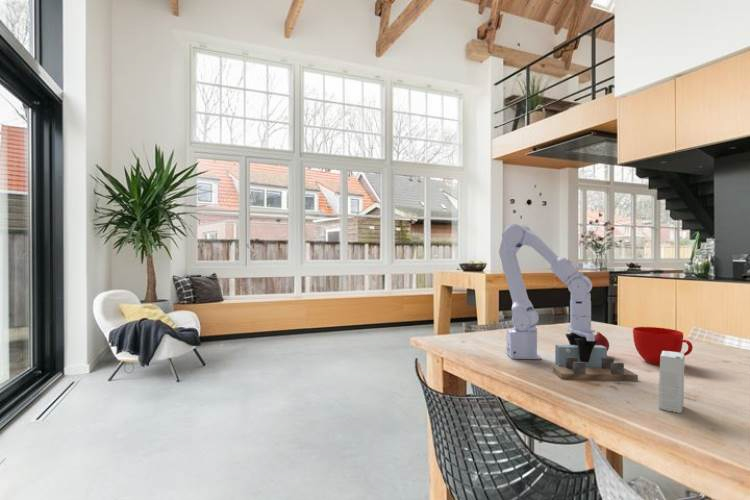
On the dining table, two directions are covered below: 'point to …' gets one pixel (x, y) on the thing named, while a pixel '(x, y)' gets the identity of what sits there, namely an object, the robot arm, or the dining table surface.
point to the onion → (601, 340)
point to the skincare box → (671, 381)
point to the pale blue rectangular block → (573, 351)
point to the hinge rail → (594, 371)
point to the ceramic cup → (658, 342)
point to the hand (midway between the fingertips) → (580, 359)
